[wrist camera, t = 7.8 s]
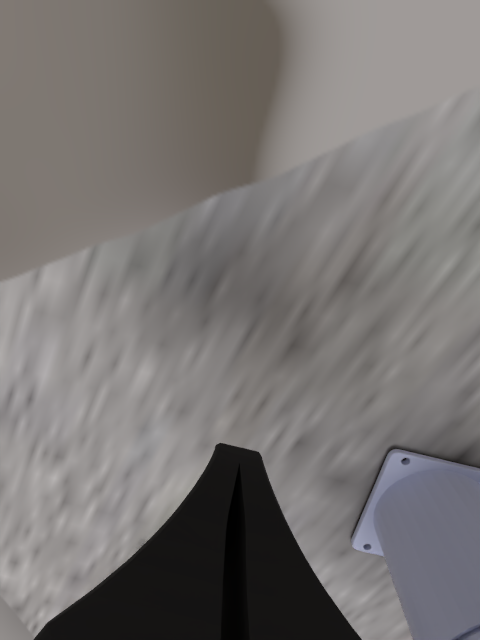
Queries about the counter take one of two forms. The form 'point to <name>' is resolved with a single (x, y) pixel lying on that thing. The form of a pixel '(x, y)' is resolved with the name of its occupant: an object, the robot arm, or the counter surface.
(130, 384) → the counter surface
